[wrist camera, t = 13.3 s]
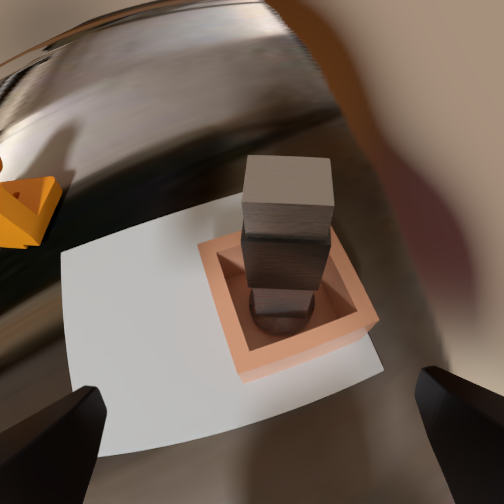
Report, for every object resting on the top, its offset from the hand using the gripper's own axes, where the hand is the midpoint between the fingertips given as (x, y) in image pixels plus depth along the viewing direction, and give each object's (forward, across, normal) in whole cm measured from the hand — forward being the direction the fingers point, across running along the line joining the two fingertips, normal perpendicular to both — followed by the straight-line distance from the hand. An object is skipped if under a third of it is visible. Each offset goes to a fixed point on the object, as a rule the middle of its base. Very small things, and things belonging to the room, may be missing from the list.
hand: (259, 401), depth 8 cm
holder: (+14, -2, +4) cm, 15 cm away
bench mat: (+15, +5, +4) cm, 16 cm away
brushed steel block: (+14, -2, +4) cm, 15 cm away
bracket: (+23, +25, -3) cm, 34 cm away
